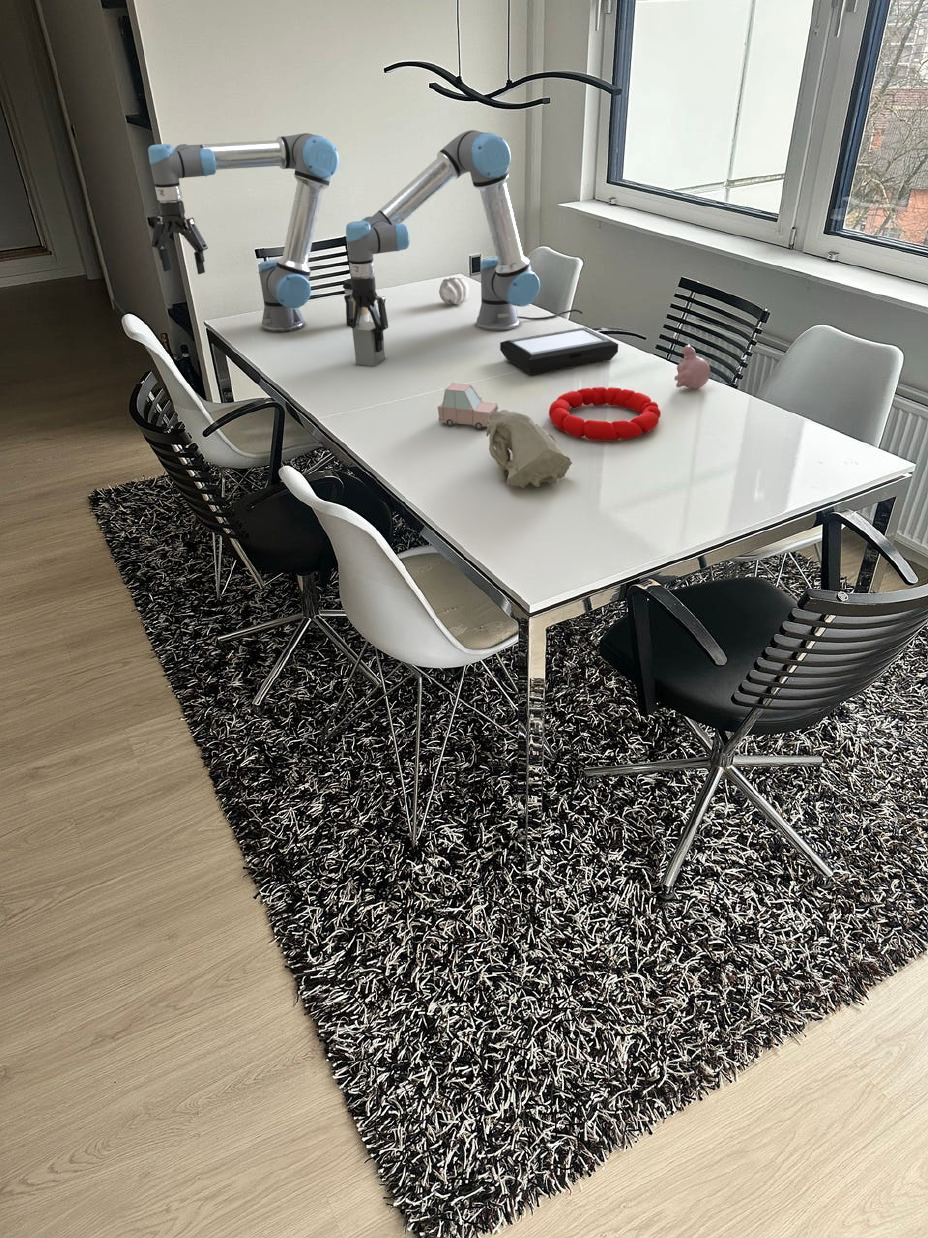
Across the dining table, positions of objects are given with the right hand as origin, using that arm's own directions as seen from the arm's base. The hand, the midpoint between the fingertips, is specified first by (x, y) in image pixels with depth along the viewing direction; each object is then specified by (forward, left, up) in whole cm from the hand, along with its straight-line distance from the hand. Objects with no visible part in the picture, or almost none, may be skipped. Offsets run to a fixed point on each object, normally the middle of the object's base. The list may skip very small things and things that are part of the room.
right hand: (369, 349), depth 289 cm
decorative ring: (-16, +87, -4) cm, 89 cm away
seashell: (-63, -32, -4) cm, 71 cm away
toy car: (+11, +62, -4) cm, 63 cm away
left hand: (+36, -50, +22) cm, 66 cm away
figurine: (-53, +88, -4) cm, 103 cm away
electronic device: (-44, +43, -4) cm, 61 cm away
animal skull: (+22, +94, -4) cm, 96 cm away
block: (0, 0, -4) cm, 4 cm away
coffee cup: (-22, -38, -4) cm, 44 cm away
